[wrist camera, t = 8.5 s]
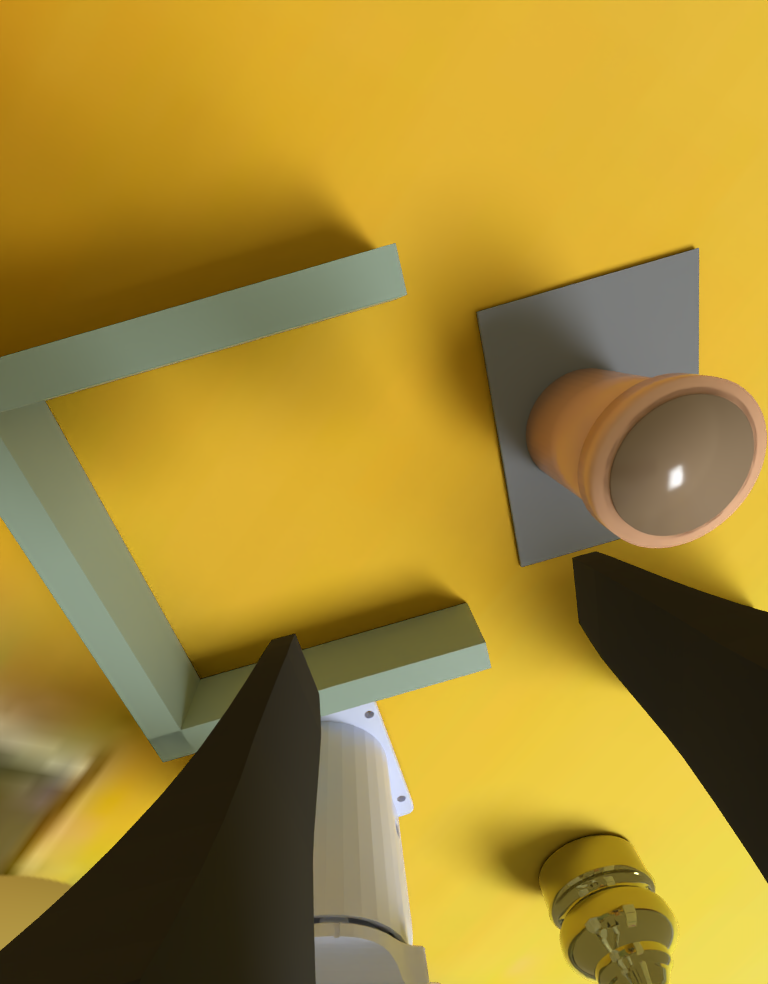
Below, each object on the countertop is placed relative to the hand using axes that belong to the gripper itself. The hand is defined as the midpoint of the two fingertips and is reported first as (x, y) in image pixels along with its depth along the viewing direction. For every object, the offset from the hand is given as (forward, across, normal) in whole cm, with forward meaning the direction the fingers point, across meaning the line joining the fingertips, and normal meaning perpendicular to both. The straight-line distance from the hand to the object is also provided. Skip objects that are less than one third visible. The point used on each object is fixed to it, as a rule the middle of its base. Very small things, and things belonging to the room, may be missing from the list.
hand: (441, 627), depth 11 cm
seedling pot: (+9, -9, -1) cm, 13 cm away
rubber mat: (+9, -10, -1) cm, 13 cm away
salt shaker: (+10, -7, +31) cm, 33 cm away
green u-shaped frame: (+9, +6, 0) cm, 11 cm away
